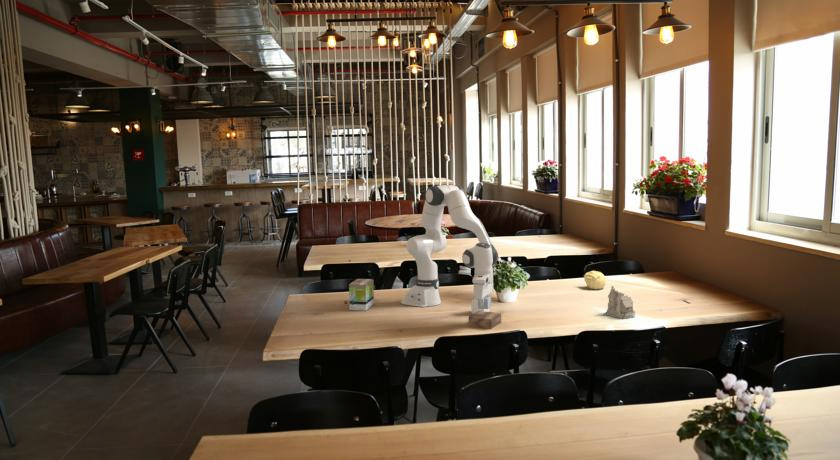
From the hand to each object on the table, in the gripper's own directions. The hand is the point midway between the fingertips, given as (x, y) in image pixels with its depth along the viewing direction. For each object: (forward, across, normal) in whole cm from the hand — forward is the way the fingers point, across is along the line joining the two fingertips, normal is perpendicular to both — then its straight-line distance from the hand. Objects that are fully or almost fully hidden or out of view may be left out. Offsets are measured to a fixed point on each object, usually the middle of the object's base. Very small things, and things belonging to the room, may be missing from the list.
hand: (484, 304), depth 298 cm
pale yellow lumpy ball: (+10, -93, +41) cm, 102 cm away
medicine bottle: (+10, -19, -8) cm, 23 cm away
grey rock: (+10, -38, +62) cm, 73 cm away
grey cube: (+2, 0, 0) cm, 2 cm away
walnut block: (+10, 0, 0) cm, 10 cm away
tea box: (+10, -11, -74) cm, 76 cm away
